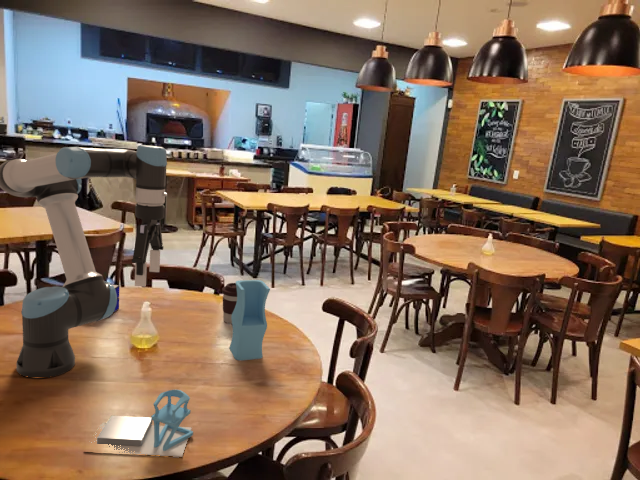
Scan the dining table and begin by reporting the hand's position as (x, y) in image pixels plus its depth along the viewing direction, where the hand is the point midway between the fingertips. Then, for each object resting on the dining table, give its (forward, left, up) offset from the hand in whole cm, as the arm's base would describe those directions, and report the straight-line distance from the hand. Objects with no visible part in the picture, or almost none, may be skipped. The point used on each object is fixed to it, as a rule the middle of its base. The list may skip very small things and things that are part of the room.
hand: (147, 278), depth 132 cm
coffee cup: (+20, +51, -32) cm, 63 cm away
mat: (+7, -27, -32) cm, 42 cm away
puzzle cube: (-31, +50, -32) cm, 67 cm away
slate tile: (+3, -21, -30) cm, 37 cm away
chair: (+14, -27, -31) cm, 44 cm away
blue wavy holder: (+28, +23, -32) cm, 48 cm away
